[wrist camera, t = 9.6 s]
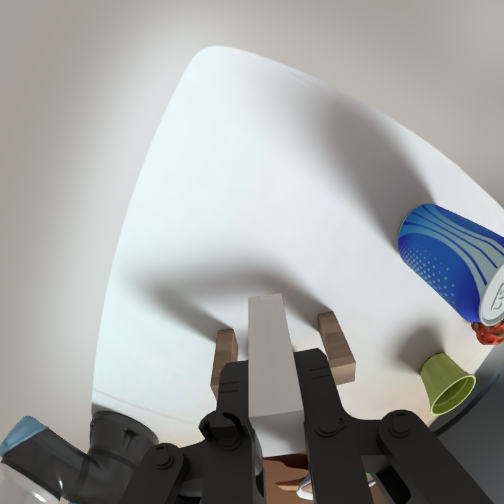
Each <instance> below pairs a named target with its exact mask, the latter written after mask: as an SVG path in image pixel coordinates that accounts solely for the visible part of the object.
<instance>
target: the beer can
mask: <svg viewBox="0 0 504 504" xmlns="http://www.w3.org/2000/svg"><path fill="white" fill-rule="evenodd" d="M398 250H399V254H400V256H401V258H402V260H403V261H404V262H405V263H406V264H407V265H408V266H409V267H410V268H411V269H412V270H413V271H415V272H416V273H417V274H418V275H419V276H420V277H421V278H422V279H423V280H424V281H425V282H427V283H428V284H429V285H430V286H431V287H432V288H433V289H434V290H435V291H436V292H437V293H438V294H439V295H440V296H441V297H442V298H443V299H445V300H446V301H447V302H448V303H449V304H450V305H451V306H452V307H453V308H454V309H455V310H456V311H457V312H458V313H459V314H460V315H461V316H462V317H463V318H464V319H465V320H467V321H470V322H482V323H483V324H484V325H486V326H492V325H495V324H497V323H498V322H500V321H501V320H502V319H504V237H502V236H500V235H498V234H496V233H494V232H493V231H491V230H489V229H487V228H485V227H483V226H481V225H479V224H477V223H475V222H472V221H470V220H468V219H466V218H464V217H462V216H460V215H457V214H455V213H453V212H451V211H449V210H446V209H444V208H442V207H439V206H437V205H434V204H423V205H420V206H418V207H416V208H415V209H413V210H412V211H411V212H410V213H409V214H408V215H407V216H406V217H405V219H404V220H403V222H402V224H401V226H400V230H399V235H398Z"/></svg>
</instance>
